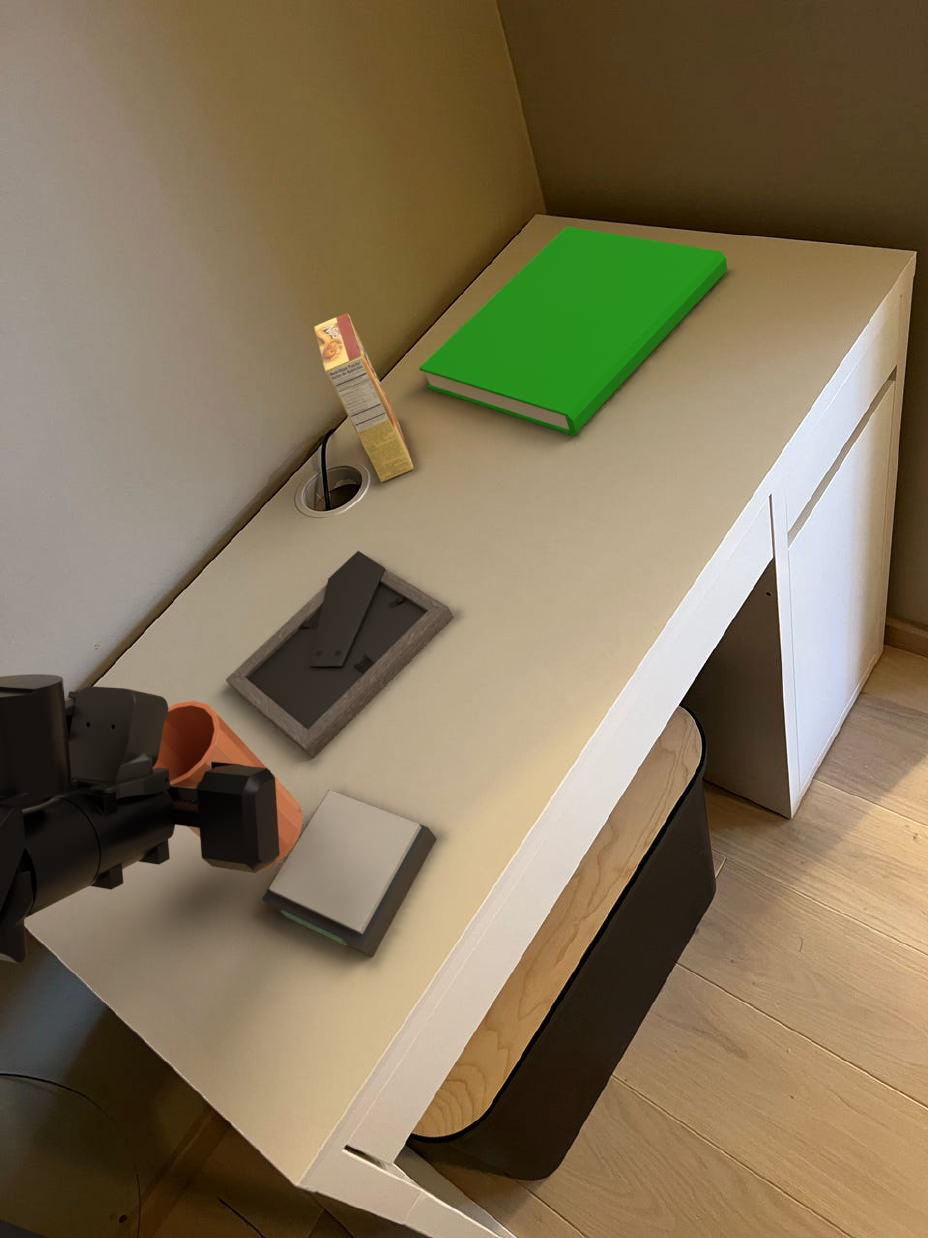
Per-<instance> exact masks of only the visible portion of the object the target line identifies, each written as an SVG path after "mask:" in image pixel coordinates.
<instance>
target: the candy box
mask: <svg viewBox="0 0 928 1238" xmlns="http://www.w3.org/2000/svg"><path fill="white" fill-rule="evenodd" d="M313 331H314V336H315V339H316V343H317V347H318V351H319V354H320V358H321V362H322V365H323V368H324V372H325V374H326V376H327V378H328V379H329V381H330V383H331V385H332V387H333V389H334V391H335V393H336V395H337V397H338V399H339V401H340V403H341V405H342V406H343V409H344V411H345V413H346V415H347V417H348V418H349V419H348V420H349V421H350V423H351V425H352V427H353V429H354V430H355V432H356V434H357V436H358V439H359V441H360V442H361V445H362V446H363V447H362V448H363V449H364V451H365V452H366V455H367V456H368V459H369V461H370V462H371V464H372V467H373V468H374V471H375V473H376V474H377V477H378V478H379V480H380V482H381V483H384V482H387V481H389V480H391V479H393V478H396V477H398V476H401V475H403V474H405V473H408V472H410V471H413V470H414V465H413V462H412V458H411V456H410V452H409V448H408V446H407V443H406V439H405V437H404V434H403V431H402V428H401V425H400V423H399V421H398V419H397V417H396V414H395V413H394V411H393V408H392V406H391V404H390V402H389V398H388V397H387V395H386V392H385V390H384V388H383V386H382V384H381V381H380V379H379V377H378V375H377V373H376V371H375V369H374V366H373V364H372V362H371V360H370V357H369V355H368V353H367V351H366V349H365V347H364V344H363V342H362V340H361V338H360V336H359V334H358V332H357V329H356V327H355V325H354V323H353V321H352V319H351V315H350V314H349V312H346V313H343V314H341V315H338V316H336V317H333V318H331V319H329V320H326V321H324V322H322V323H319V324H317V325H315V326H314V327H313Z"/></svg>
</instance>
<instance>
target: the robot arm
mask: <svg viewBox="0 0 928 1238" xmlns="http://www.w3.org/2000/svg"><path fill="white" fill-rule="evenodd" d="M64 686H65V685H64V678H63V677H62V676H60V675H56V674H46V673H45V674H42V673H41V674H39V673H38V674H37V673H36V674H34V673H32V674H14V675H3V676H0V960H2V961H6V962H9V963H15V964H21V963H24V961H25V960H26V959H27V956H28V949H27V937H26V926H25V919H27V918H29V917H30V916H32V915H34V914H37V913H39V912H40V911H42V910H44V909H46V908H48V907H50V906H53V905H54V904H56V903H58V902H60V901H62V900H64V899H66V898H68V897H70V896H72V895H74V894H76V893H78V892H80V891H82V890H84V889H86V888H88V887H93V888H98V889H104V890H114V889H116V888H117V887H119V886H122V885H123V884H124V873H123V871H124V869H126V868H128V867H129V866H131V865H133V864H135V863H145V864H150V865H157V866H159V865H162V864H163V863H165V862H167V861H169V860H170V859H171V857H170V846H169V844H170V843H169V840H170V839H171V838H172V837H173V836H174V831H175V828H176V826H182V827H187V826H189V827H197V828H200V837H199V839H200V840H199V841H200V853H201V855H200V856H201V859H202V860H203V861H205V862H206V863H207V864H208V865H210V867H213V868H217V869H218V868H219V869H226V870H232V871H237V872H244V873H252V874H257V873H259V872H260V871H262V870H264V869H263V868H265V867H267V866H268V865H270V864H271V863H273V862H274V861H275V860H276V859H277V858H278V857H279V855H280V850H279V834H278V817H277V800H276V783H275V777H276V776H275V775H274V774H273V772H272V771H271V769H269V768H268V767H267V768H262V767H252V766H244V765H241V764H231V763H221V762H211V768H212V769H210V770H208V771H205V773H204V776H203V778H202V780H201V781H199V783H198V785H197V787H190V786H181V785H172V784H170V778H169V769H168V768H159V767H157V768H155V769H153V767H154V765H155V764H156V762H157V760H158V756H159V751H160V745H161V739H162V733H163V727H164V722H165V720H166V719H167V716H168V708H169V705H168V702H167V700H166V698H165V697H163V696H162V695H157V694H152V693H148V692H143V691H138V690H134V689H130V688H126V687H125V688H124V687H122V688H121V687H111V686H110V687H107V686H95V685H94V686H93V685H88V686H85V687H83V688H82V689H76V690H75V691H71V690H69V691H68V695H67V698H69V699H68V700H66V696H65V687H64ZM274 776H275V777H274ZM265 869H266V868H265ZM0 1238H49V1237H48V1236H46V1235H43V1234H40V1233H38V1232H36V1231H35V1232H34V1231H32V1230H29V1229H27V1228H24V1227H22V1226H19V1225H16V1224H13V1223H11V1222H8V1221H5V1220H3V1219H0Z"/></svg>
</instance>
